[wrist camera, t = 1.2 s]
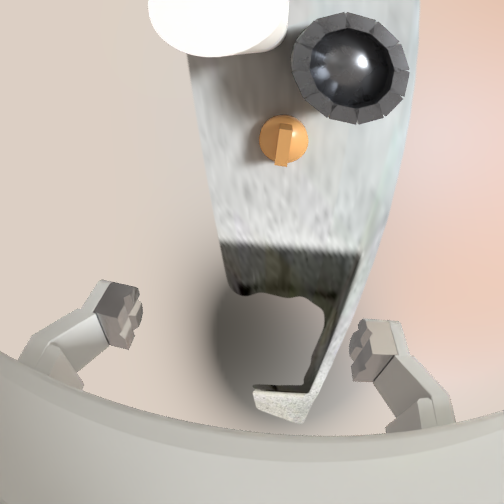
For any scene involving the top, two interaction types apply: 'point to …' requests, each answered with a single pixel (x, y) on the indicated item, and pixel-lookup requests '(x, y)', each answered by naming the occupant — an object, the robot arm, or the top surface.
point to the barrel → (350, 68)
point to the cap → (283, 139)
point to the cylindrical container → (220, 25)
